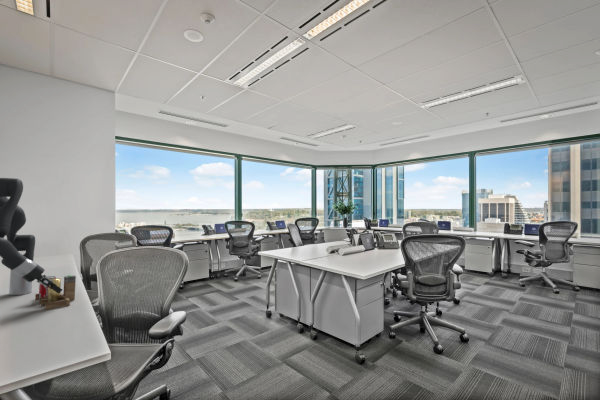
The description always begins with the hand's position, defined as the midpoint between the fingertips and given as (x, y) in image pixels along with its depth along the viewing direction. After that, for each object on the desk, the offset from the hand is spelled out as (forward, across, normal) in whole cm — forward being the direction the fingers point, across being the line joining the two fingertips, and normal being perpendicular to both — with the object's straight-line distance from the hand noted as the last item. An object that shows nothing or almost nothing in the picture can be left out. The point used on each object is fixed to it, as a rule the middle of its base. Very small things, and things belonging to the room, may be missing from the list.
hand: (59, 290), depth 144 cm
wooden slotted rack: (+6, +8, +4) cm, 10 cm away
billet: (+2, 0, +5) cm, 6 cm away
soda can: (+4, +14, +6) cm, 16 cm away
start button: (+1, +6, -6) cm, 9 cm away
